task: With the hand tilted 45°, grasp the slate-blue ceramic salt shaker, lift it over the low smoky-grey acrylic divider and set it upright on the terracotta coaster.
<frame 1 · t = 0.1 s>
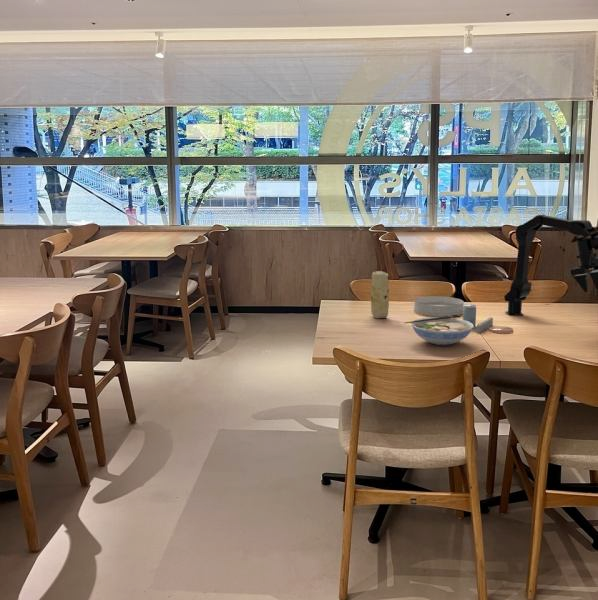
hand: (592, 290, 269), 15 cm above the table, tool pointing down, fingers open, 9 cm apart
salt shaker: (469, 326, 276), on the table
food model: (378, 317, 295), on the table
coaster: (500, 330, 269), on the table
acrylic divider: (484, 328, 273), on the table
ramen bowl: (441, 343, 251), on the table
dish: (438, 312, 306), on the table
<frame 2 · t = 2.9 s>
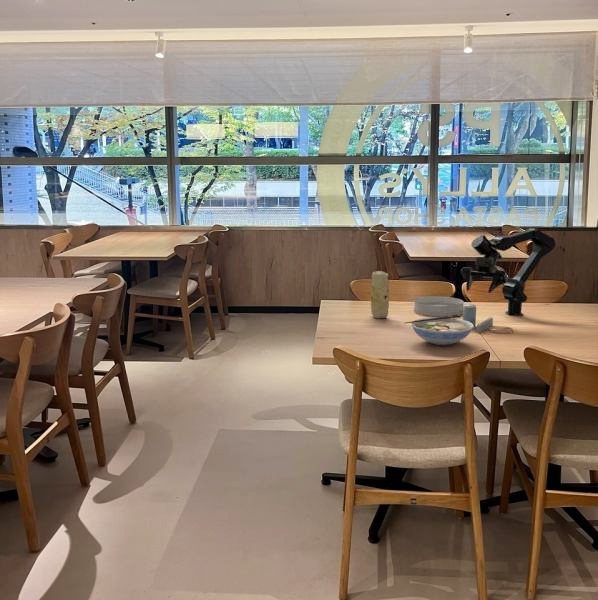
hand: (478, 291, 279), 14 cm above the table, tool tilted 45°, fingers open, 9 cm apart
nothing on the table moved.
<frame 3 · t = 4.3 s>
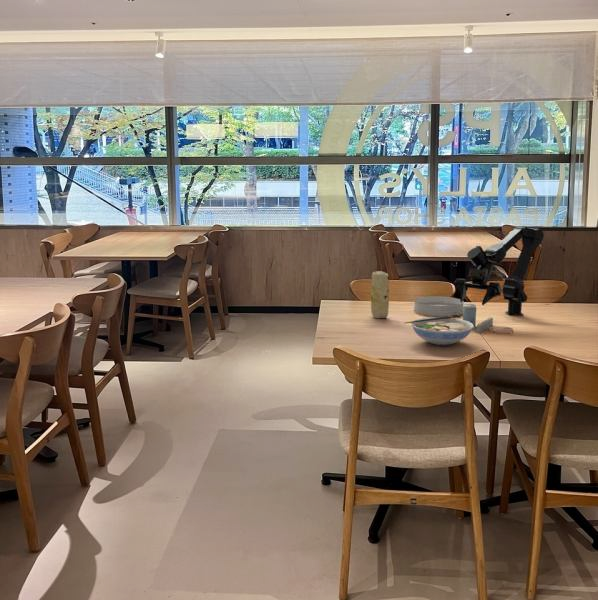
hand: (471, 303, 276), 9 cm above the table, tool tilted 45°, fingers open, 9 cm apart
nothing on the table moved.
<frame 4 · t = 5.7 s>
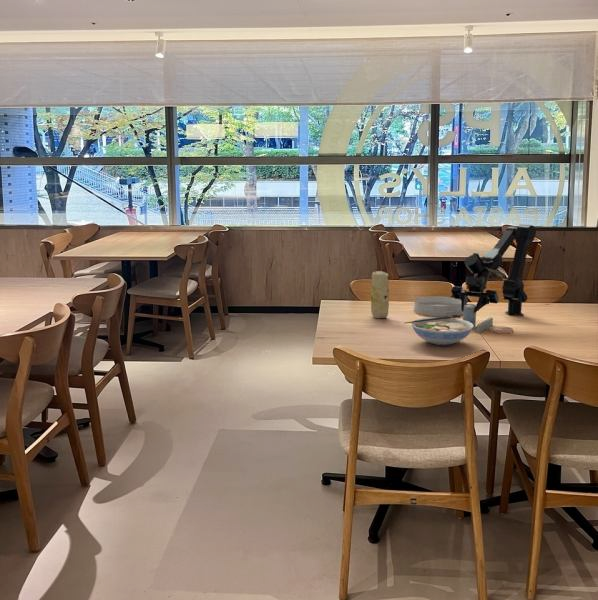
hand: (468, 311, 274), 7 cm above the table, tool tilted 45°, fingers closed on salt shaker, 5 cm apart
salt shaker: (469, 326, 276), on the table, touching gripper
everything else where it was.
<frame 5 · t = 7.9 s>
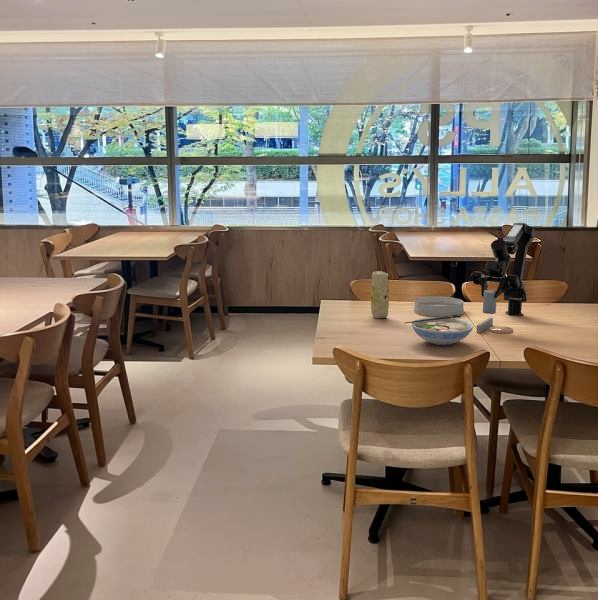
hand: (488, 296, 268), 13 cm above the table, tool tilted 45°, fingers closed on salt shaker, 5 cm apart
salt shaker: (489, 312, 270), point 7 cm above the table, touching gripper
everything else where it was.
when the fingers open (8 cm above the table, at t = 10.3 s): salt shaker drops 1 cm, resting on coaster.
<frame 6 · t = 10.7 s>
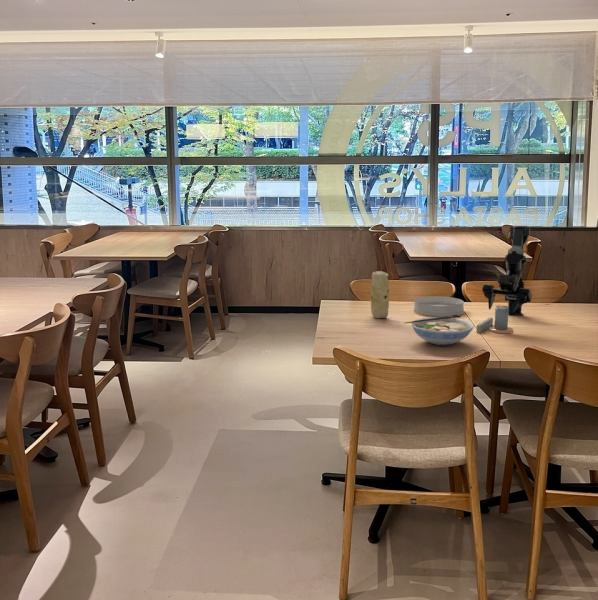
hand: (500, 310, 266), 9 cm above the table, tool tilted 45°, fingers open, 9 cm apart
salt shaker: (500, 328, 269), point 1 cm above the table, touching coaster
everything else where it was.
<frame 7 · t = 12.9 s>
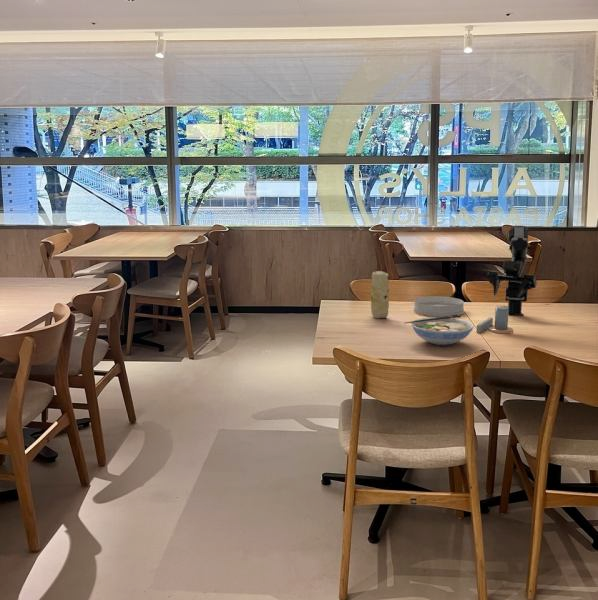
hand: (505, 296, 269), 13 cm above the table, tool tilted 45°, fingers open, 9 cm apart
nothing on the table moved.
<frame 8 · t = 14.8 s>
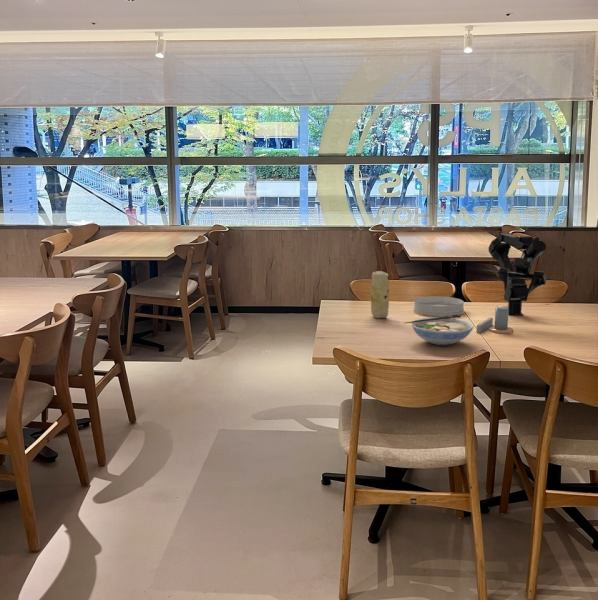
hand: (516, 292, 276), 14 cm above the table, tool tilted 45°, fingers open, 9 cm apart
nothing on the table moved.
at the end: salt shaker 0.0 cm off-centre on the coaster, point 0.8 cm above the coaster's base; salt shaker tilted 0°; the gripper is holding nothing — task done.
